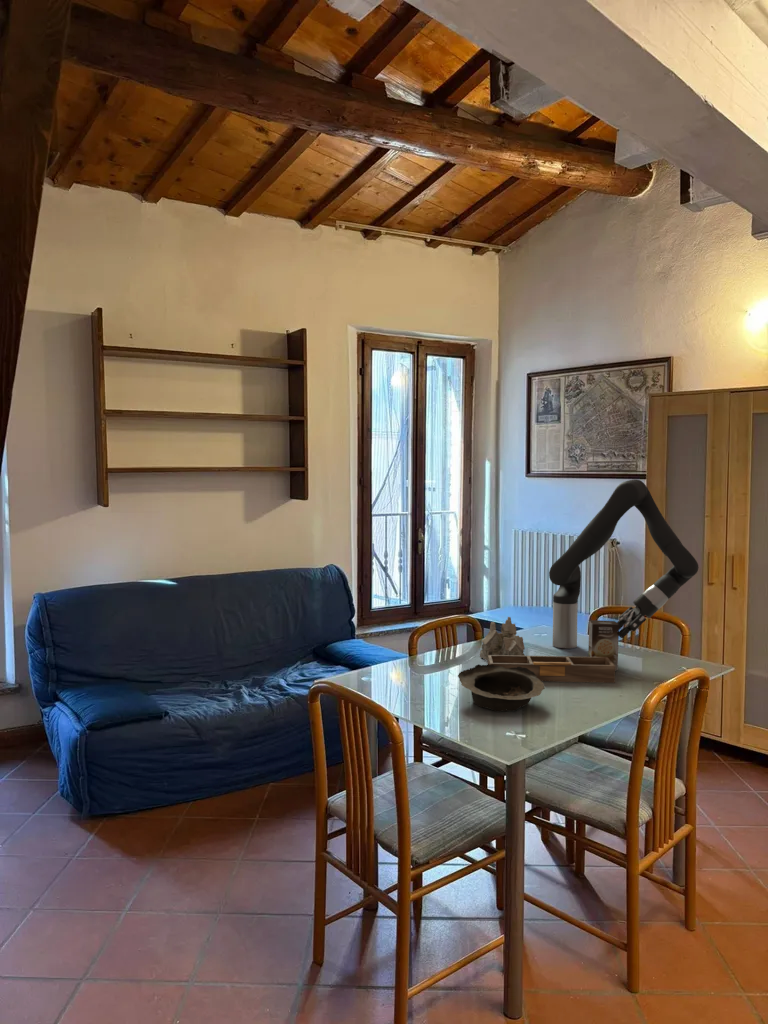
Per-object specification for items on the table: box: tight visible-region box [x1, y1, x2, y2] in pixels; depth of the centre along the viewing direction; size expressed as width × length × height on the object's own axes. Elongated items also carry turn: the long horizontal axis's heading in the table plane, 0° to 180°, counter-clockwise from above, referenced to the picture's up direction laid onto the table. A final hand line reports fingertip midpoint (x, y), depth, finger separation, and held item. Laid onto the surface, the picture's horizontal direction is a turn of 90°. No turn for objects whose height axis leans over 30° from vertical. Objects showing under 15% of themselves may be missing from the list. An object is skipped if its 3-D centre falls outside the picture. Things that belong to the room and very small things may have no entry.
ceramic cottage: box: [479, 616, 526, 661], centre depth 263 cm, size 16×16×15 cm
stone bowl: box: [457, 663, 546, 713], centre depth 214 cm, size 25×25×9 cm
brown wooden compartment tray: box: [487, 655, 616, 684], centre depth 241 cm, size 11×40×6 cm, turn 86°
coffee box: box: [587, 619, 620, 671], centre depth 252 cm, size 9×6×16 cm
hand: (616, 633), depth 251 cm, fingers open, 8 cm apart
